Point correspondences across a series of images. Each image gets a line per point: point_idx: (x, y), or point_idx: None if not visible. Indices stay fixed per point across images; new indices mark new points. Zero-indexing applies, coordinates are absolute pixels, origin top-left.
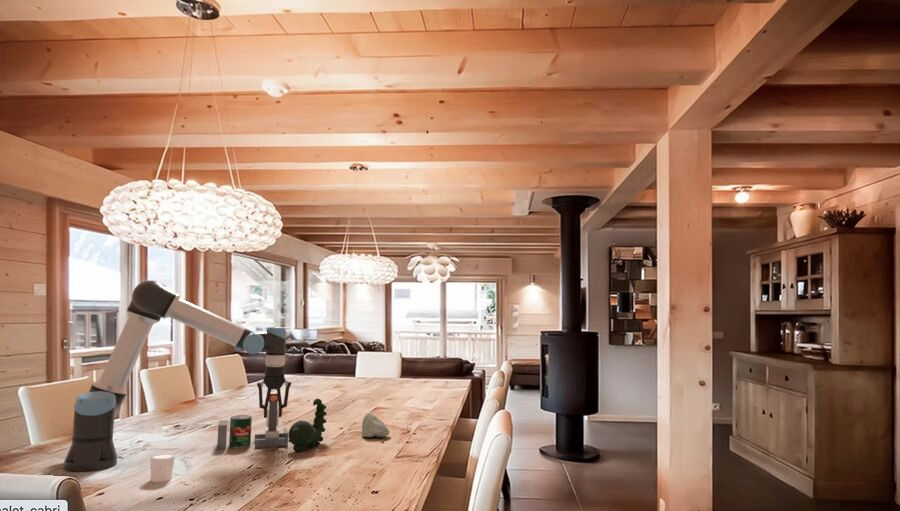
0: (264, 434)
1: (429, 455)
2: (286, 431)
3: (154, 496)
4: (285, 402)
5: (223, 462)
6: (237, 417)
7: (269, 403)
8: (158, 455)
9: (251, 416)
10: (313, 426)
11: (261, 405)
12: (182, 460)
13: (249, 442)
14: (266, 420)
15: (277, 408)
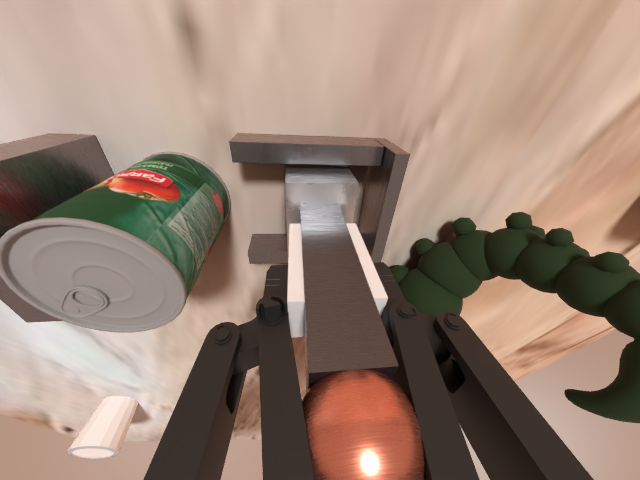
0: (283, 162)
1: (571, 347)
2: (380, 246)
3: (157, 432)
4: (446, 382)
5: (196, 347)
6: (75, 291)
7: (306, 378)
8: (77, 450)
9: (178, 282)
10: (494, 268)
11: (233, 377)
12: (72, 327)
13: (224, 221)
14: (289, 242)
15: (376, 302)
